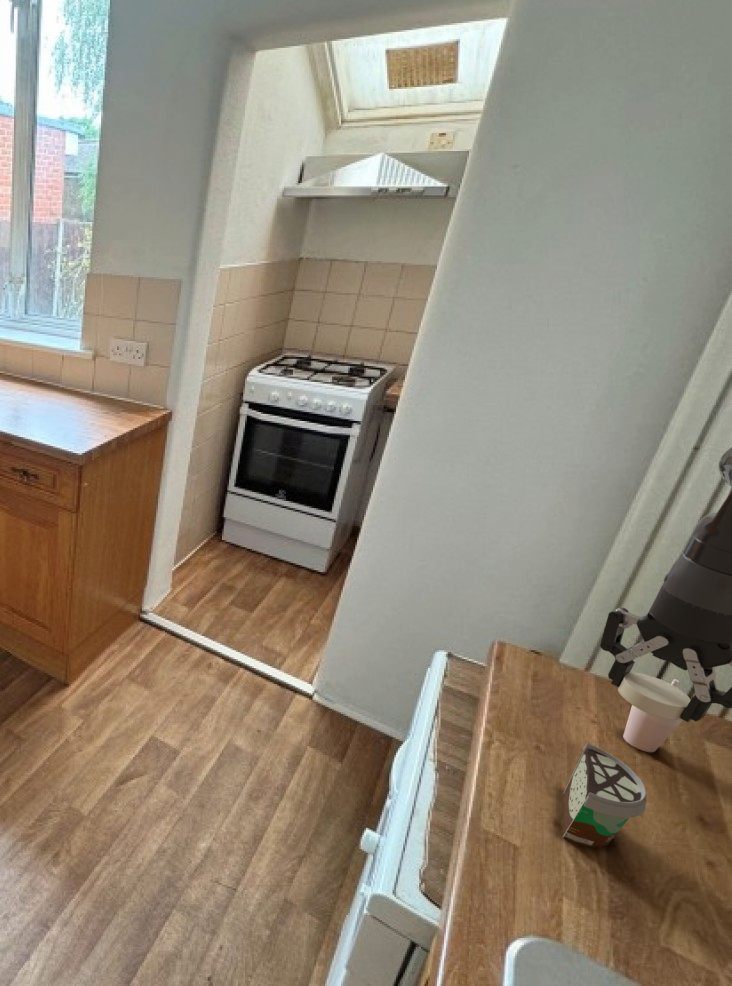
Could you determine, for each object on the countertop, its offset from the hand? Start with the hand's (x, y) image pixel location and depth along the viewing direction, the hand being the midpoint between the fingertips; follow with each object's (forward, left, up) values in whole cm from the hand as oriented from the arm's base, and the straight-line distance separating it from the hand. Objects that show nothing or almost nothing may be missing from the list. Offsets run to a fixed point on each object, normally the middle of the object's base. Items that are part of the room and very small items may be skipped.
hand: (650, 700), depth 80 cm
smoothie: (+3, -24, -22) cm, 32 cm away
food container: (-1, +3, -22) cm, 22 cm away
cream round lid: (0, 0, -1) cm, 1 cm away
